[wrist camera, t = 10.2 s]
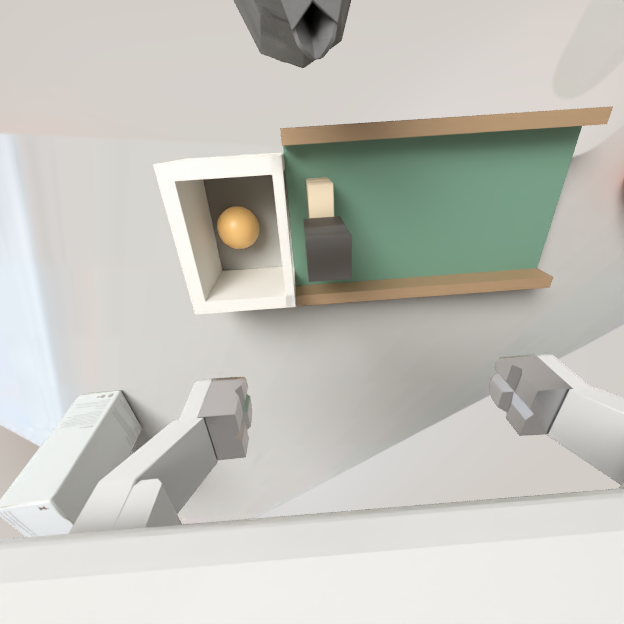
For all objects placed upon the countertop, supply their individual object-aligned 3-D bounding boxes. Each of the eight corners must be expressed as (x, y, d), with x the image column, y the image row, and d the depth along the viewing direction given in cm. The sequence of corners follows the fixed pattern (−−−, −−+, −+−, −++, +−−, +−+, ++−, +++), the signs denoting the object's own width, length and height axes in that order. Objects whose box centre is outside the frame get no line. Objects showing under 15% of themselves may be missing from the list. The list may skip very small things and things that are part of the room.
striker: (300, 178, 28) (302, 198, 19) (332, 176, 28) (352, 195, 19) (306, 261, 32) (310, 313, 23) (334, 259, 32) (351, 310, 23)
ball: (231, 212, 27) (265, 204, 29) (204, 209, 29) (237, 201, 31) (239, 257, 28) (270, 245, 31) (213, 250, 31) (243, 240, 33)
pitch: (180, 136, 28) (144, 135, 21) (573, 110, 28) (657, 101, 22) (217, 295, 36) (199, 331, 29) (524, 273, 36) (575, 302, 30)
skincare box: (80, 393, 42) (-17, 507, 29) (124, 388, 42) (47, 500, 29) (106, 434, 46) (31, 551, 33) (146, 430, 46) (87, 545, 33)
